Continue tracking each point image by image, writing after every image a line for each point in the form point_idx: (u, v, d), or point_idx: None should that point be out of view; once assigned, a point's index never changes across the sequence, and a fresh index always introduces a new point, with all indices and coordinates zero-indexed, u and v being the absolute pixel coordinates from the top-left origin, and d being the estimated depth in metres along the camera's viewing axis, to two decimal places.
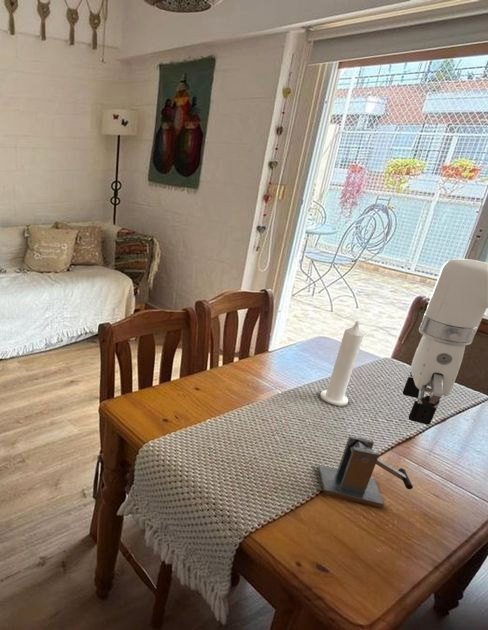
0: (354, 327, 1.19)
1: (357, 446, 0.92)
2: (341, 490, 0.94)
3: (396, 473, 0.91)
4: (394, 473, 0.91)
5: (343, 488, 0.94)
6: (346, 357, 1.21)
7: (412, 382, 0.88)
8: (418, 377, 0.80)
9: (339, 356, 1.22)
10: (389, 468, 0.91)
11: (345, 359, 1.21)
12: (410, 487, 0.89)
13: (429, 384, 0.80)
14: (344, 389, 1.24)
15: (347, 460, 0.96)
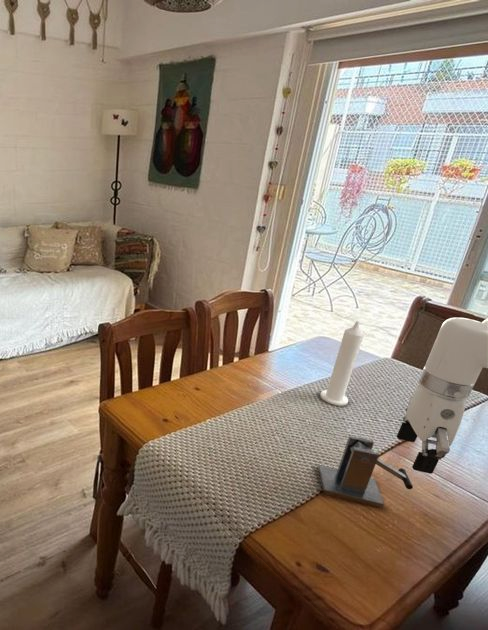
0: (354, 327, 1.19)
1: (357, 446, 0.92)
2: (341, 490, 0.94)
3: (396, 473, 0.91)
4: (394, 473, 0.91)
5: (343, 488, 0.94)
6: (346, 357, 1.21)
7: (406, 427, 0.92)
8: (421, 430, 0.83)
9: (339, 356, 1.22)
10: (389, 468, 0.91)
11: (345, 359, 1.21)
12: (410, 487, 0.89)
13: None
14: (344, 389, 1.24)
15: (347, 460, 0.96)
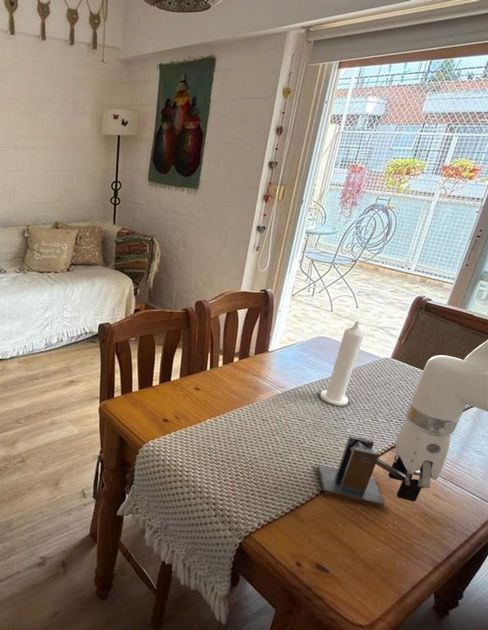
0: (354, 327, 1.19)
1: (357, 446, 0.92)
2: (341, 490, 0.94)
3: (396, 473, 0.91)
4: (394, 473, 0.91)
5: (343, 488, 0.94)
6: (346, 357, 1.21)
7: (397, 467, 0.93)
8: (409, 462, 0.86)
9: (339, 356, 1.22)
10: (389, 468, 0.91)
11: (345, 359, 1.21)
12: None
13: None
14: (344, 389, 1.24)
15: (347, 460, 0.96)
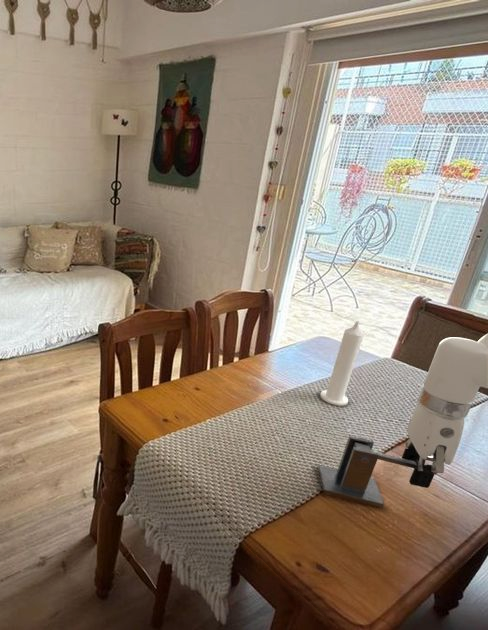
0: (354, 327, 1.19)
1: None
2: (341, 490, 0.94)
3: (404, 463, 0.90)
4: (402, 463, 0.90)
5: (343, 488, 0.94)
6: (346, 357, 1.21)
7: (409, 454, 0.91)
8: (422, 448, 0.84)
9: (339, 356, 1.22)
10: (395, 460, 0.90)
11: (345, 359, 1.21)
12: None
13: None
14: (344, 389, 1.24)
15: (347, 460, 0.96)
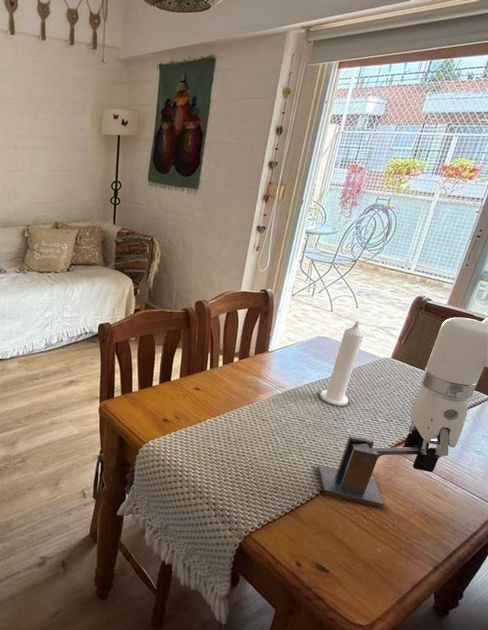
0: (354, 327, 1.19)
1: None
2: (341, 490, 0.94)
3: (406, 452, 0.89)
4: (405, 453, 0.89)
5: (343, 488, 0.94)
6: (346, 357, 1.21)
7: (413, 438, 0.90)
8: (425, 431, 0.83)
9: (339, 356, 1.22)
10: (396, 451, 0.89)
11: (345, 359, 1.21)
12: None
13: (435, 436, 0.83)
14: (344, 389, 1.24)
15: (347, 460, 0.96)
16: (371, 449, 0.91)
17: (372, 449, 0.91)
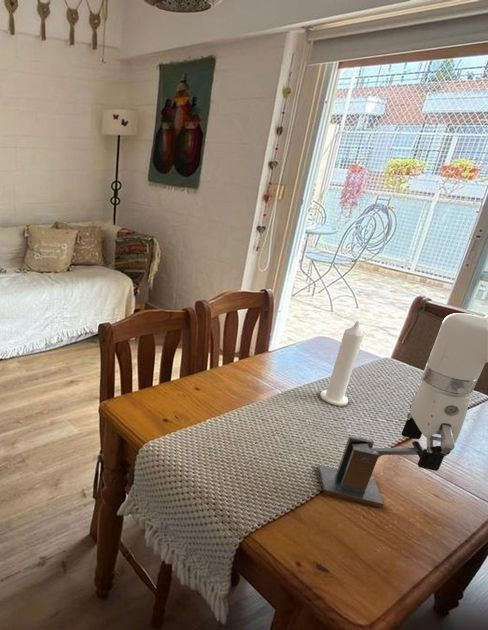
0: (354, 327, 1.19)
1: None
2: (341, 490, 0.94)
3: (406, 452, 0.89)
4: (405, 453, 0.89)
5: (343, 488, 0.94)
6: (346, 357, 1.21)
7: (411, 424, 0.91)
8: (425, 426, 0.83)
9: (339, 356, 1.22)
10: (396, 451, 0.89)
11: (345, 359, 1.21)
12: None
13: (435, 432, 0.83)
14: (344, 389, 1.24)
15: (347, 460, 0.96)
16: (371, 449, 0.91)
17: (372, 449, 0.91)
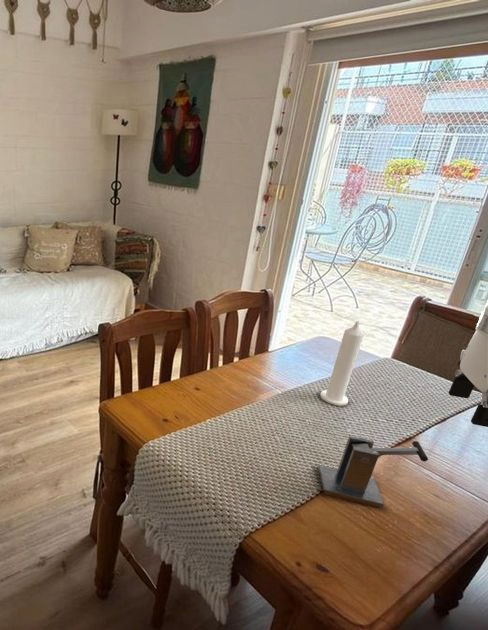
0: (354, 327, 1.19)
1: None
2: (341, 490, 0.94)
3: (406, 452, 0.89)
4: (405, 453, 0.89)
5: (343, 488, 0.94)
6: (346, 357, 1.21)
7: (460, 382, 0.85)
8: (481, 379, 0.77)
9: (339, 356, 1.22)
10: (396, 451, 0.89)
11: (345, 359, 1.21)
12: (425, 458, 0.86)
13: None
14: (344, 389, 1.24)
15: (347, 460, 0.96)
16: (371, 449, 0.91)
17: (372, 449, 0.91)
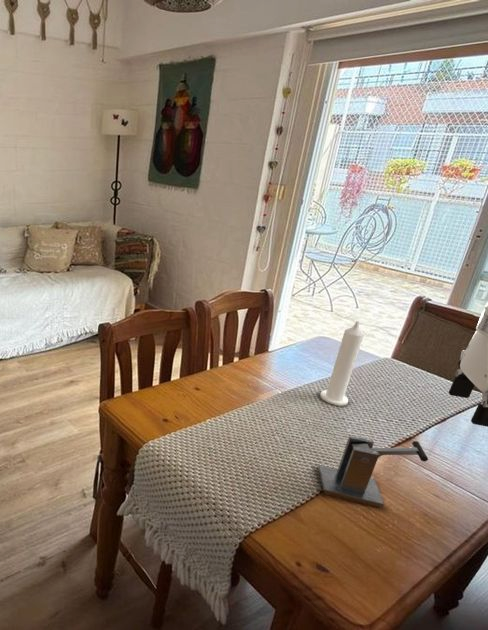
0: (354, 327, 1.19)
1: None
2: (341, 490, 0.94)
3: (406, 452, 0.89)
4: (405, 453, 0.89)
5: (343, 488, 0.94)
6: (346, 357, 1.21)
7: (460, 382, 0.85)
8: (481, 379, 0.77)
9: (339, 356, 1.22)
10: (396, 451, 0.89)
11: (345, 359, 1.21)
12: (425, 458, 0.86)
13: None
14: (344, 389, 1.24)
15: (347, 460, 0.96)
16: (371, 449, 0.91)
17: (372, 449, 0.91)
